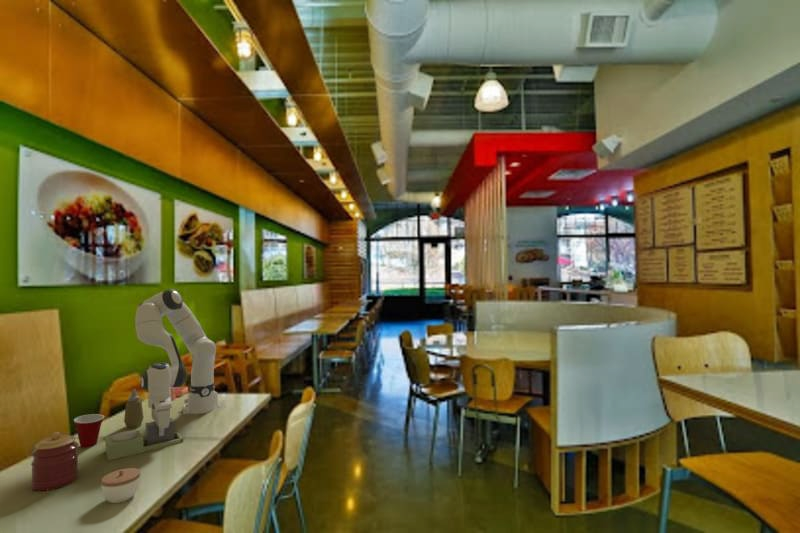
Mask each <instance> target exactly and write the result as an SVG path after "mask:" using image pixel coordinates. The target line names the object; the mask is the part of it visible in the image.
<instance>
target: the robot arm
mask: <svg viewBox="0 0 800 533" xmlns="http://www.w3.org/2000/svg"><path fill="white" fill-rule="evenodd" d="M183 300H184V299H183V296H182V294H181V293H180V292H179V291H178V290H176V289H174V288H173V289H166V290H164V291H161V292H159V293H156V294H154V295H152V297H149V298H148V299H146V300H144V301H141V303H139V305H138V306H137V308H136V311H135V319H134V321H135V323H134V326H135V333H136V337H137V339H138V340H139V341H140V342H142V343H144V344H146V345H149V346H154V347H158V348H162V349H164V350H165V351H166V353H167V356H168V359H169V361H170V364H169V363H167V362H162V361H160V362H154V363H152V364H151V365H149V368H148V369H146V370H143V372H142V373H141V375H140V387H141V388H142V389H143V390H145V391H148V394H147V407H148V408H149V409H151V418H152V419H153V422H154V421H155V423H156V425H157V426H158V428H159V436H163V435H164V429H165V428H168V426H169V421H170V418H171V409H172V408H173V406H172V405H173V404H172V403H173V402H172V401H171V389H170V388H171V387H172V388H173V387H183V386H184V384H185V383H186V382H187V380H188V371H187V368H186V366H185V365H184V363H183V361H182V360H183V359H182V358H181V354H180V351H179V348H178V346H177V342H176V341H175V338H174V336H173V334H172V333H170V332H168V331H167V330H166V329H165V326H164V324H163V317H164V316H166V317H167V319H168V321H169V323H170V324H171V325H172V327H173V328H174V329H175V331H176V332H177V334H178V336H179V337H180V338H181V340H182V342H183V343H184V346H186V348H187V350H188V352H189V353H190V354H191V355H192V365H191V368H190V369H191V370H190V386H189V394H188V395H187V398H184V400H183V401H184V405H183V406H182V413H183V414H184V415H200V414H206V413H207V414H208V413H211V412H213V411H215V410H217V409H218V408H220V407H222V405H221V404H219V398H218V397H219V396H218V392H217V391H215V388H216V386H215V385H216V384H215V382H214V381H215V380H214V379H215V378H214V375H215V374H214V373H215V372H214V369H215V368H214V367H215V361H216V355H217V354H216V353H217V346H216V344H215V342H214V341H213V340H211V339H209V338H208V337H207V335H206V333H205V332H204V330H203V328H202V325H201V324H200V322H199V321H198V319H197V317H195V315H194V313H193V311H192V310H191V309H190V308H189V307H188V306H187V304H186V303H185V302H184V301H183Z"/></svg>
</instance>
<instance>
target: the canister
mask: <svg viewBox="0 0 800 533" xmlns="http://www.w3.org/2000/svg"><path fill="white" fill-rule="evenodd" d="M78 447H79V443H78V442H76V437H75V436H74V435H73V436H72V435H70V434H65V433H64V434H61V433H60V432H59V431H54V432H52V433H51V435H50V436H48V437H45V438H43V439H41V440H40V441H39V442H38V443H36V444H35V445H34V448H35V449H34V450H33V451H32V452H31V457H32V461H31V463H30V465H31V481H30V482H31V483H30V485H31V488H32V490H33V491H37V490H45V491H48V490H47V489H51V490H54V489H53V488H56V487H59V488H61V487H60V486H62V487H64V486H63V485H65V486H67V485H69V484H71V483H73V482H74V481H75V479H76V478H77V479H78V475H79V469H78V467H79V466H78V465H79V464H78V463H79V462H78V461H79V458H78V457H79V452H78V450H77V448H78ZM77 479H76V480H77ZM73 480H74V481H73ZM72 481H73V482H72ZM70 482H71V483H70ZM68 483H69V484H68ZM66 484H67V485H66ZM56 489H57V488H56Z"/></svg>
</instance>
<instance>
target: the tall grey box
mask: <svg viewBox="0 0 800 533" xmlns="http://www.w3.org/2000/svg"><path fill="white" fill-rule="evenodd" d="M174 432H175V420H174V419H173V417H170V421H169V426H168V428H165V429H164V435H163V436H159V428H158V426H157V425H156V423H155V421H154V420H153V421H150V422H145V438H146V443H145V444H146V446H149V445H153V444H158V443H162V442H167V441H171V440H175V436H174Z"/></svg>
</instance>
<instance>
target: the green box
mask: <svg viewBox="0 0 800 533" xmlns="http://www.w3.org/2000/svg"><path fill="white" fill-rule="evenodd" d="M174 437H176V438H174V440H170V441H165V442H161V443H156V444H152V445H144V444H147V443H146V437H145V438H144V437H143V434H142V433H141V431H140V430H124V431H120V432H116V433H114V434H112V435H109V436H105V455H106V458H108V459H107V461H108V460H109V461H113V460H116V458H117V459H121V458H125V457H128V456H132V455H137V454H141V453H144V452H147V451H152V450H156V449H161V448H163V447H168V446H172V445H175V444H180V443H184V438H183V436H182V435H181V434H180V433H179V431H174ZM124 456H125V457H124ZM120 457H121V458H120ZM112 459H113V460H112Z"/></svg>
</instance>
